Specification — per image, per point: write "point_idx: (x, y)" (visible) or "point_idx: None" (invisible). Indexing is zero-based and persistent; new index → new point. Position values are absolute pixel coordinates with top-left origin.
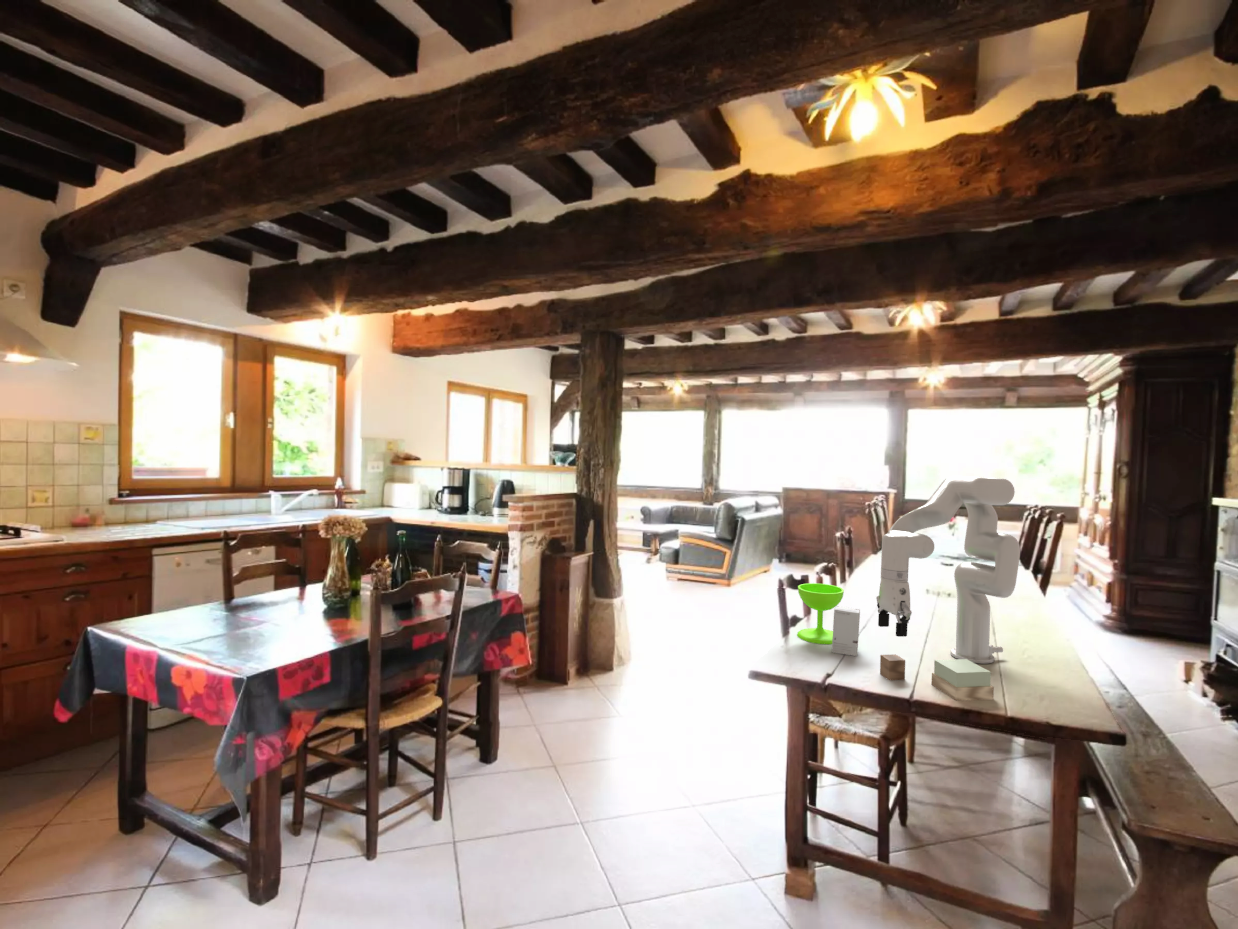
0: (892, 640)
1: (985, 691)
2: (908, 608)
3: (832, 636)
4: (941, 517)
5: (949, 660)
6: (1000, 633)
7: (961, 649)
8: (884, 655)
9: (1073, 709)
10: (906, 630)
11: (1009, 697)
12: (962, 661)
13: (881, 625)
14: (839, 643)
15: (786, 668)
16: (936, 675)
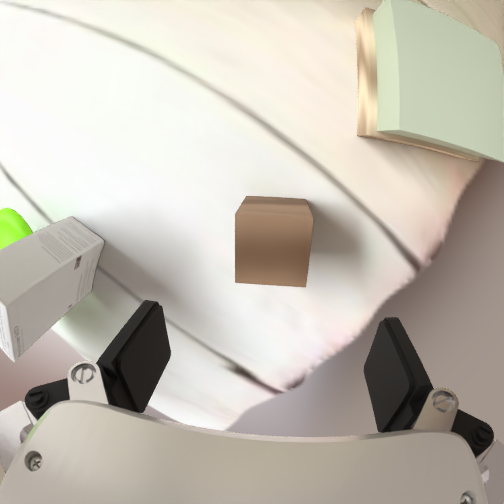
0: (19, 84)
1: None
2: (501, 501)
3: (14, 239)
4: None
5: (408, 67)
6: None
7: None
8: (244, 272)
9: None
10: (408, 345)
11: (441, 11)
12: (418, 29)
13: (166, 350)
14: (77, 291)
15: (202, 410)
16: (395, 138)
